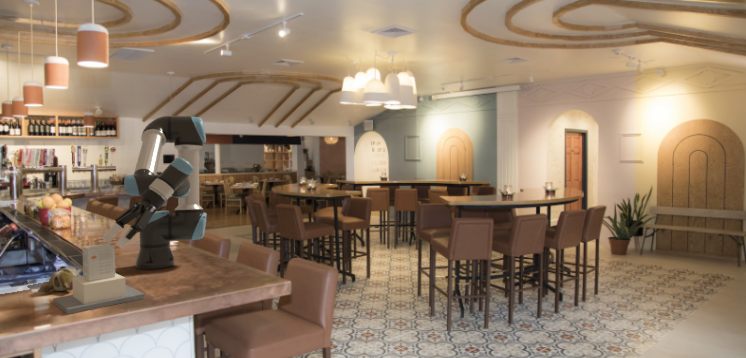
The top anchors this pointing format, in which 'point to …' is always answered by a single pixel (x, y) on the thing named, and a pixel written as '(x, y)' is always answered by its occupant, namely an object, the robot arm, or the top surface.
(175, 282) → the top surface
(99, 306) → the pedestal
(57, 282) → the ceramic sculpture
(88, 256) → the small box
